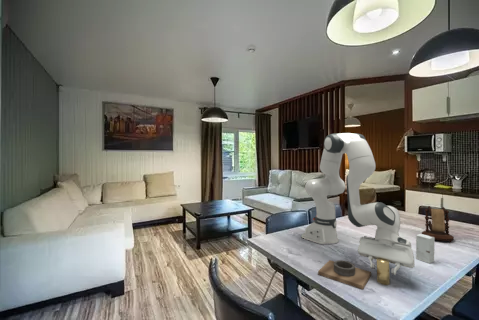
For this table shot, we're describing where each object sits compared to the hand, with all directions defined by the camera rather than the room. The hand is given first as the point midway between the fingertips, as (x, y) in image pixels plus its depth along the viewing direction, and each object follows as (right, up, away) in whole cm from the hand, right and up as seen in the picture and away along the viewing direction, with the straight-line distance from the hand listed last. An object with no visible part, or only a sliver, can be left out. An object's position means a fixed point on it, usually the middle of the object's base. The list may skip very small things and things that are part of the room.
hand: (382, 270), depth 91 cm
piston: (+1, -5, 0) cm, 5 cm away
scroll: (+64, -3, +46) cm, 78 cm away
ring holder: (-12, -5, +7) cm, 15 cm away
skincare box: (+33, -4, +18) cm, 38 cm away
